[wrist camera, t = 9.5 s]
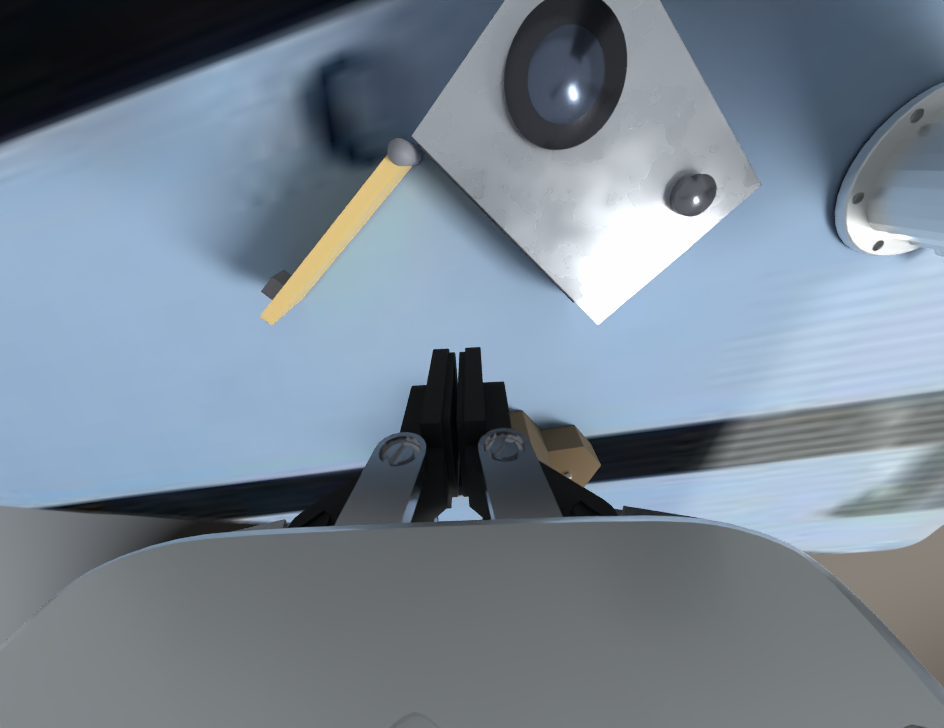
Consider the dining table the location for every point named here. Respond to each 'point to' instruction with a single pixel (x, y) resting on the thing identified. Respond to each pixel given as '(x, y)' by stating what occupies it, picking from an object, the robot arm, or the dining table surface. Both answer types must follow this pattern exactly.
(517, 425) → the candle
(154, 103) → the dining table surface
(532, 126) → the aluminium camera mock-up
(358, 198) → the ochre side door
